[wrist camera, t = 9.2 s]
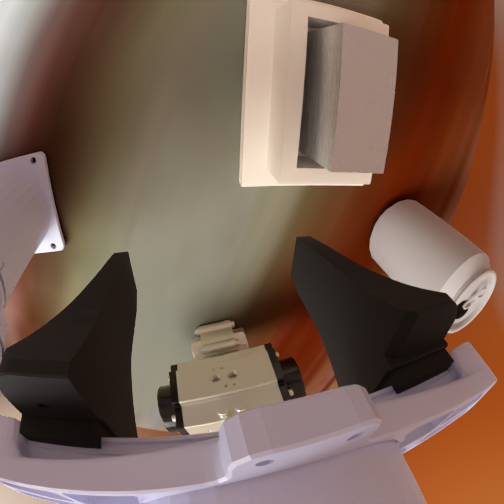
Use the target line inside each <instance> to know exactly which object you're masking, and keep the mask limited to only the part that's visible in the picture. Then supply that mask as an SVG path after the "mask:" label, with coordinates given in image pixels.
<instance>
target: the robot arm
mask: <svg viewBox="0 0 504 504" xmlns="http://www.w3.org/2000/svg"><path fill="white" fill-rule="evenodd" d="M33 157H34V158H35V159H36V163H34V162H33ZM52 243H54V244H55V245H56V246H53V244H52ZM64 247H65V241H64V238H63V234H62V230H61V227H60V223H59V219H58V215H57V210H56V206H55V202H54V197H53V192H52V187H51V182H50V177H49V171H48V165H47V159H46V155H45V153H44V152H42V151H39V152H35V153H31V154H27V155H23V156H19V157H16V158H12V159H8V160H5V161H2V162H0V396H1V394H2V393H3V395H4V396H5V397H6V398H7V399H8V400H9V401H10V402H11V403H12V404H13V405H14V406H15V407H16V408H17V409H18V410H19V411H20V412H21V413H22V418H21V422H20V421H18V420H17V419H14V418H11V417H6V416H1V415H0V483H2V484H3V485H6V486H7V487H9V488H11V489H13V490H15V491H17V492H19V493H21V494H24V495H27V496H30V497H34V498H37V499H41V500H46V501H49V502H53V503H57V504H427V503H426V501H425V499H424V497H423V494H422V493H421V490H420V488H419V487H418V485H417V482H416V480H415V478H414V476H413V474H412V472H411V470H410V469H409V466H408V464H407V463H406V461H405V459H404V457H403V455H402V454H403V453H405V452H407V451H408V450H410V449H412V448H413V447H415V446H417V445H418V444H420V443H422V442H423V441H425V440H426V439H428V438H429V437H431V436H433V435H434V434H435V433H437V432H439V431H440V430H442V429H443V428H444V427H446V426H448V425H449V424H450V423H452V422H453V421H455V420H456V419H458V418H459V417H460V416H462V415H463V414H464V413H466V412H467V411H468V410H469V409H470V408H471V407H473V405H475V404H476V403H477V402H478V401H479V400H480V399H481V398H482V397H483V396H484V394H485V393H486V392H487V391H488V390H489V389H490V388H491V387H492V386H493V385H494V384H495V383H496V382H497V378H496V377H495V375H494V374H493V373H492V371H491V370H490V369H489V367H488V366H487V365H486V363H485V362H484V361H483V359H482V358H481V357H480V355H479V354H478V353H477V352H476V350H475V349H474V348H473V347H472V345H471V344H470V343H469V342H466V343H464V344H462V345H460V346H458V347H456V348H454V349H453V350H452V351H451V352H450V353H448V352H447V351H446V349H445V348H446V347H447V342H446V341H445V340H444V337H445V336H446V334H447V333H448V331H449V329H450V328H451V326H452V324H453V323H454V321H455V319H456V316H457V313H458V306H457V304H456V303H455V302H454V301H453V299H452V298H451V297H450V296H449V295H448V294H447V293H443V292H438V291H432V290H427V289H422V288H418V287H415V286H411V285H407V284H404V283H401V282H398V281H395V280H393V279H390V278H387V277H385V276H382V275H380V274H378V273H375V272H373V271H371V270H369V269H367V268H365V267H363V266H361V265H359V264H357V263H355V262H353V261H352V260H350V259H348V258H346V257H345V256H343V255H341V254H340V253H338V252H336V251H334V250H333V249H331V248H330V247H328V246H326V245H325V244H323V243H321V242H319V241H318V240H316V239H314V238H312V237H310V236H307V237H297V238H296V245H295V252H294V259H293V266H292V272H291V276H292V279H293V282H294V285H295V287H296V290H297V292H298V295H299V296H300V298H301V300H302V302H303V304H304V306H305V308H306V309H307V311H308V313H309V315H310V317H311V319H312V320H313V322H314V324H315V326H316V328H317V330H318V332H319V334H320V336H321V338H322V341H323V343H324V346H325V348H326V351H327V353H328V356H329V359H330V362H331V365H332V368H333V371H334V374H335V377H336V380H337V384H338V388H334V389H331V390H327V391H324V392H320V393H316V394H312V395H308V396H304V397H300V398H296V399H292V400H288V401H283V402H278V403H274V404H269V405H264V406H259V407H255V408H252V409H248V410H245V411H241V412H238V413H237V414H235V415H233V416H231V417H229V418H228V419H226V420H225V421H224V422H223V424H222V425H221V427H220V429H219V431H218V432H211V433H202V434H193V435H182V436H169V437H146V438H138V437H137V430H136V423H135V415H134V406H133V395H132V379H131V353H132V344H133V335H134V327H135V319H136V311H137V289H136V285H135V281H134V277H133V272H132V268H131V263H130V258H129V254H128V252H120V253H114V254H113V255H112V256H111V258H110V259H109V260H108V261H107V262H106V264H105V265H104V266H103V267H102V269H101V270H100V271H99V272H98V274H97V275H96V276H95V277H94V278H93V280H92V281H91V282H90V283H89V284H88V285H87V286H86V287H85V289H84V290H83V291H82V292H81V293H80V294H79V295H78V296H77V297H76V298H75V299H74V300H73V301H72V302H71V303H70V304H69V305H68V306H67V307H66V308H65V309H64V310H63V311H61V312H60V313H59V314H58V315H57V316H55V317H54V318H53V319H52V320H50V321H49V322H48V323H47V324H45V325H44V326H43V327H41V328H40V329H38V330H37V331H35V332H34V333H32V334H31V335H29V336H28V337H26V338H25V339H23V340H21V341H19V342H17V343H16V344H14V345H12V346H10V347H8V348H6V346H5V344H4V343H3V341H2V339H1V337H2V334H3V332H4V330H5V327H6V325H7V323H6V321H5V319H4V315H3V310H4V308H5V306H6V304H7V302H8V300H9V298H10V296H11V294H12V292H13V290H14V288H15V286H16V284H17V283H18V281H19V279H20V277H21V275H22V274H23V272H24V270H25V268H26V267H27V265H28V263H29V262H30V260H31V258H32V257H33V255H34V254H35V253H43V252H52V251H61V250H63V249H64Z"/></svg>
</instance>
